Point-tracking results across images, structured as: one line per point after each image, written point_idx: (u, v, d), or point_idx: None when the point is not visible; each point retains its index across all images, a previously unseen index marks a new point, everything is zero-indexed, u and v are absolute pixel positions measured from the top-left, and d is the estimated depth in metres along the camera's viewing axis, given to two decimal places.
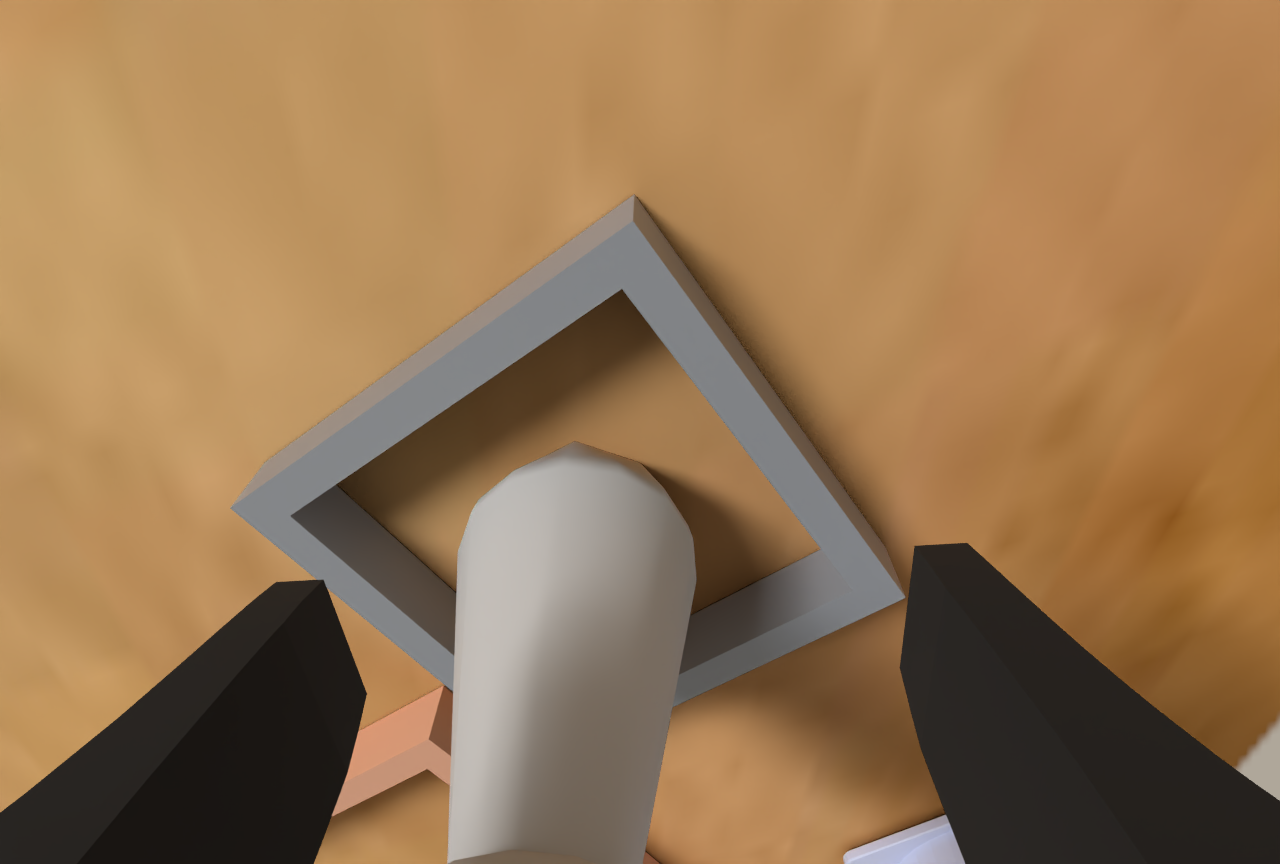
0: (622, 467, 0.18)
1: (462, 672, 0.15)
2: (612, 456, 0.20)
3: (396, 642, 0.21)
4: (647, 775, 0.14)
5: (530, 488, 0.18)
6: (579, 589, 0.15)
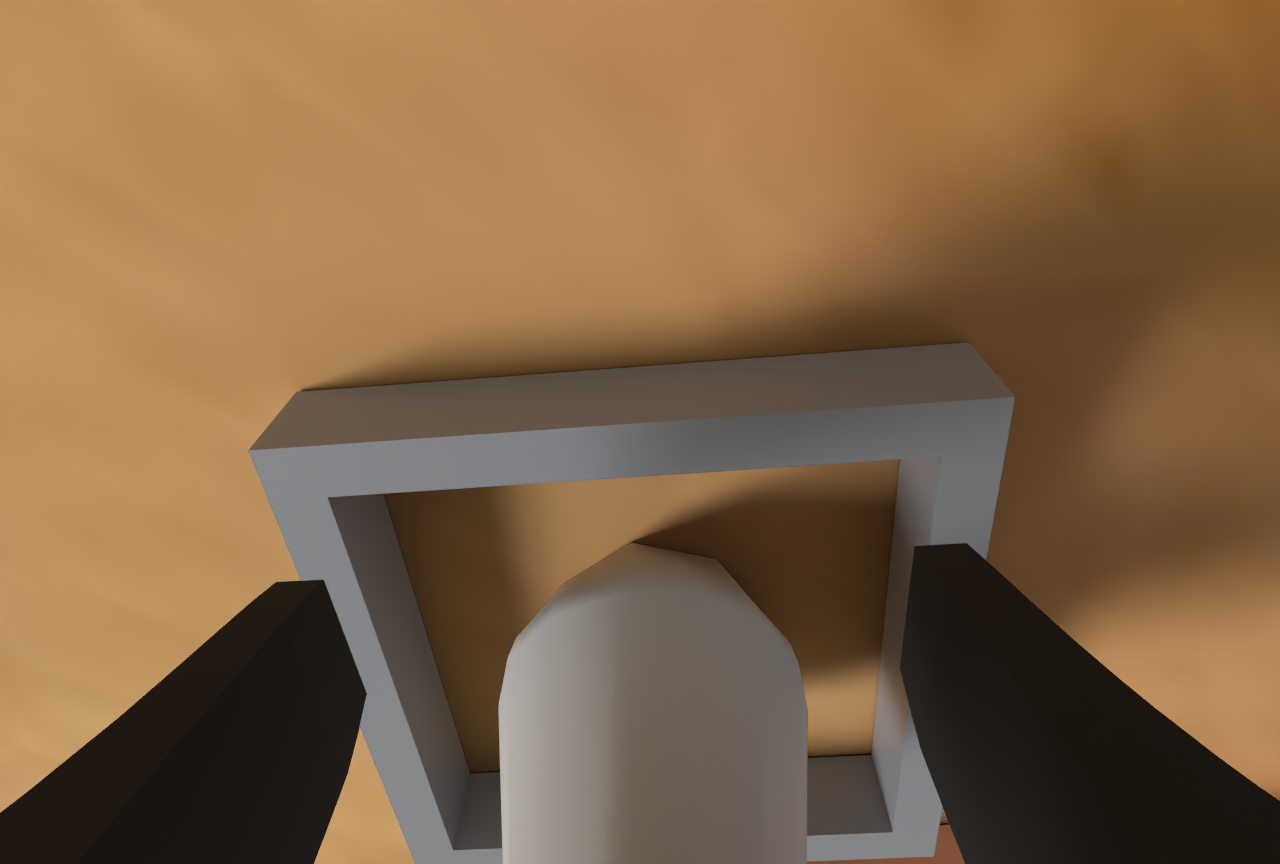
0: (560, 600, 0.14)
1: None
2: (586, 573, 0.16)
3: None
4: None
5: (502, 705, 0.14)
6: (535, 821, 0.11)
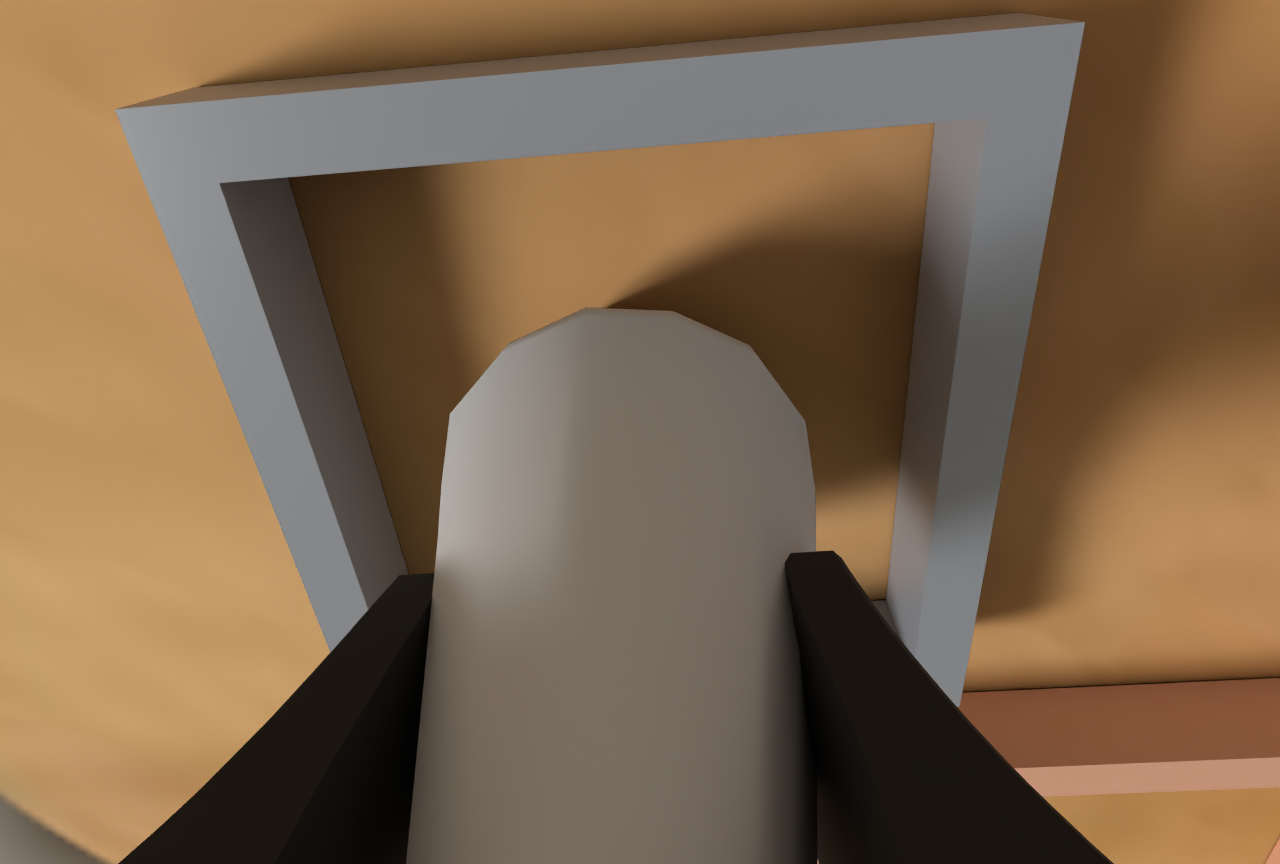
0: (514, 341, 0.12)
1: None
2: None
3: None
4: (688, 744, 0.06)
5: (443, 472, 0.12)
6: (467, 546, 0.09)
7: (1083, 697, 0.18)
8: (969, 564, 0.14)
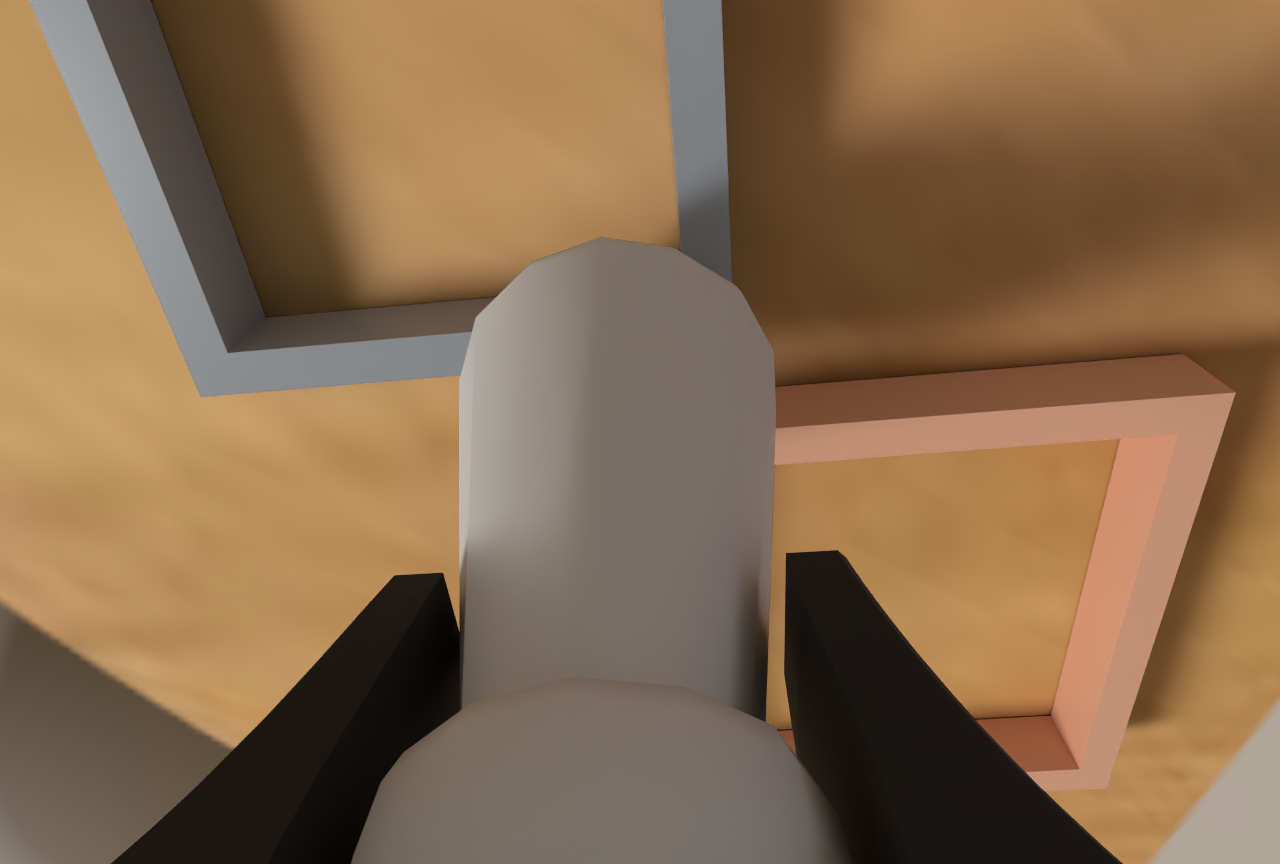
0: (536, 260, 0.14)
1: None
2: None
3: (446, 375, 0.17)
4: (685, 532, 0.09)
5: (466, 367, 0.14)
6: (502, 405, 0.11)
7: (876, 384, 0.19)
8: (713, 182, 0.15)
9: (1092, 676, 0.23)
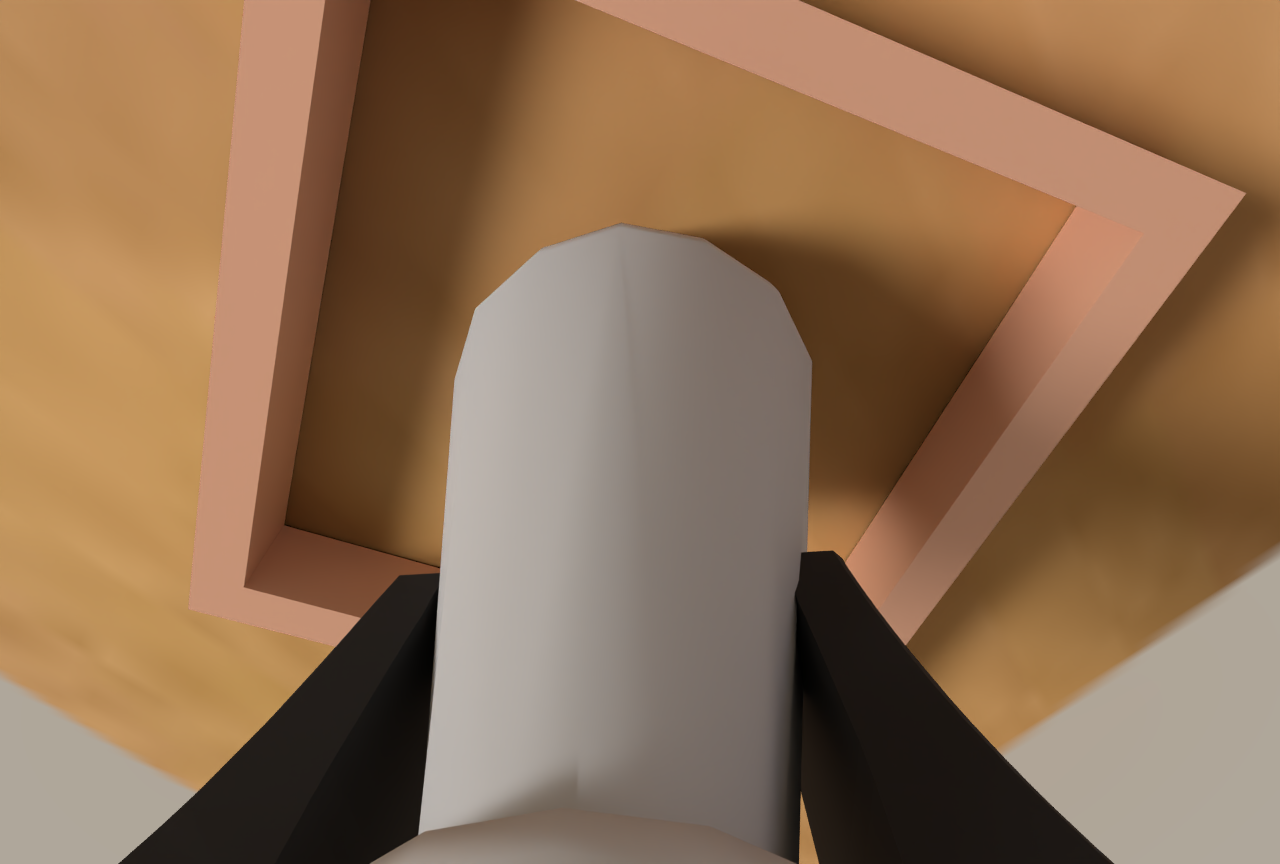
0: (547, 247, 0.12)
1: None
2: None
3: None
4: (710, 589, 0.07)
5: (461, 365, 0.12)
6: (498, 416, 0.09)
7: None
8: None
9: None
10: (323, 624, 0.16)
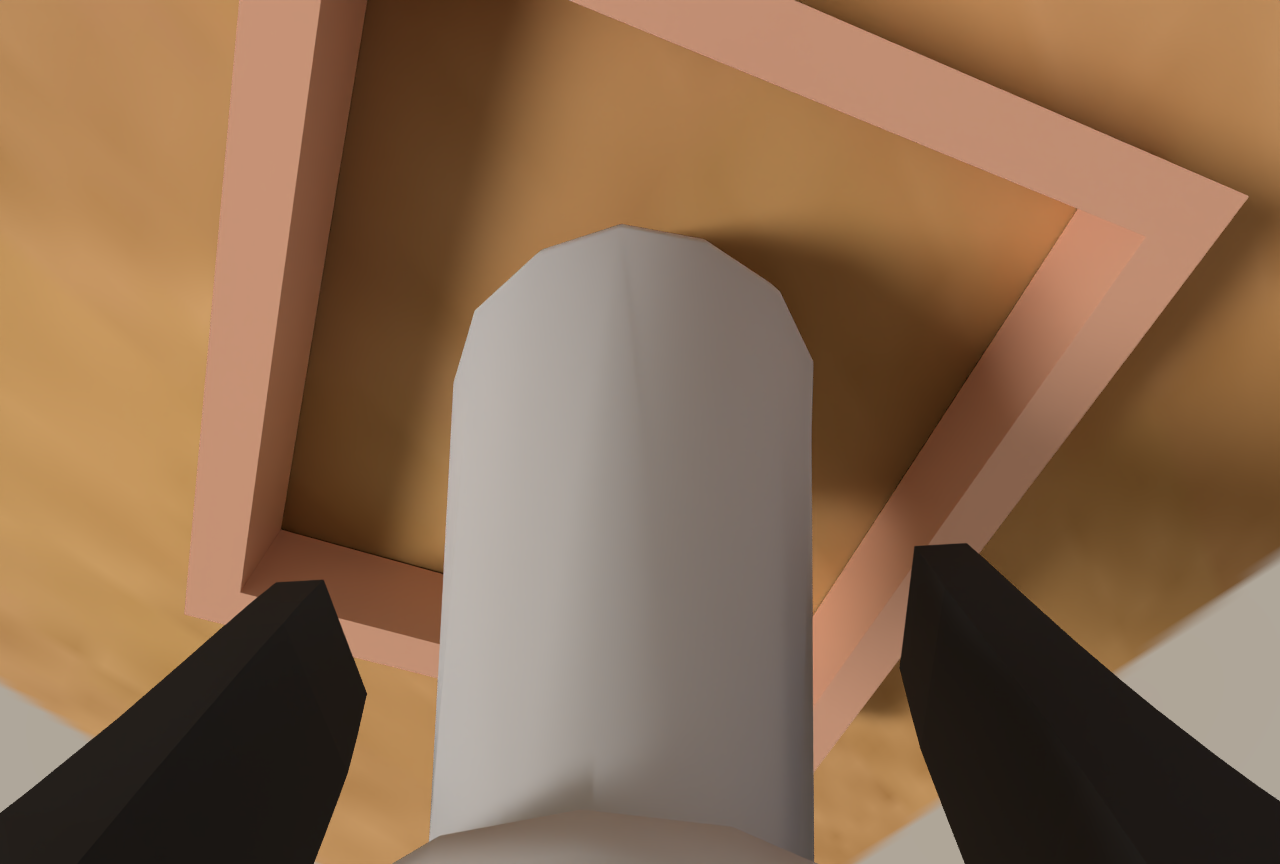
0: (546, 248, 0.12)
1: None
2: None
3: None
4: (723, 589, 0.07)
5: (461, 367, 0.12)
6: (500, 417, 0.09)
7: None
8: None
9: (861, 611, 0.16)
10: None
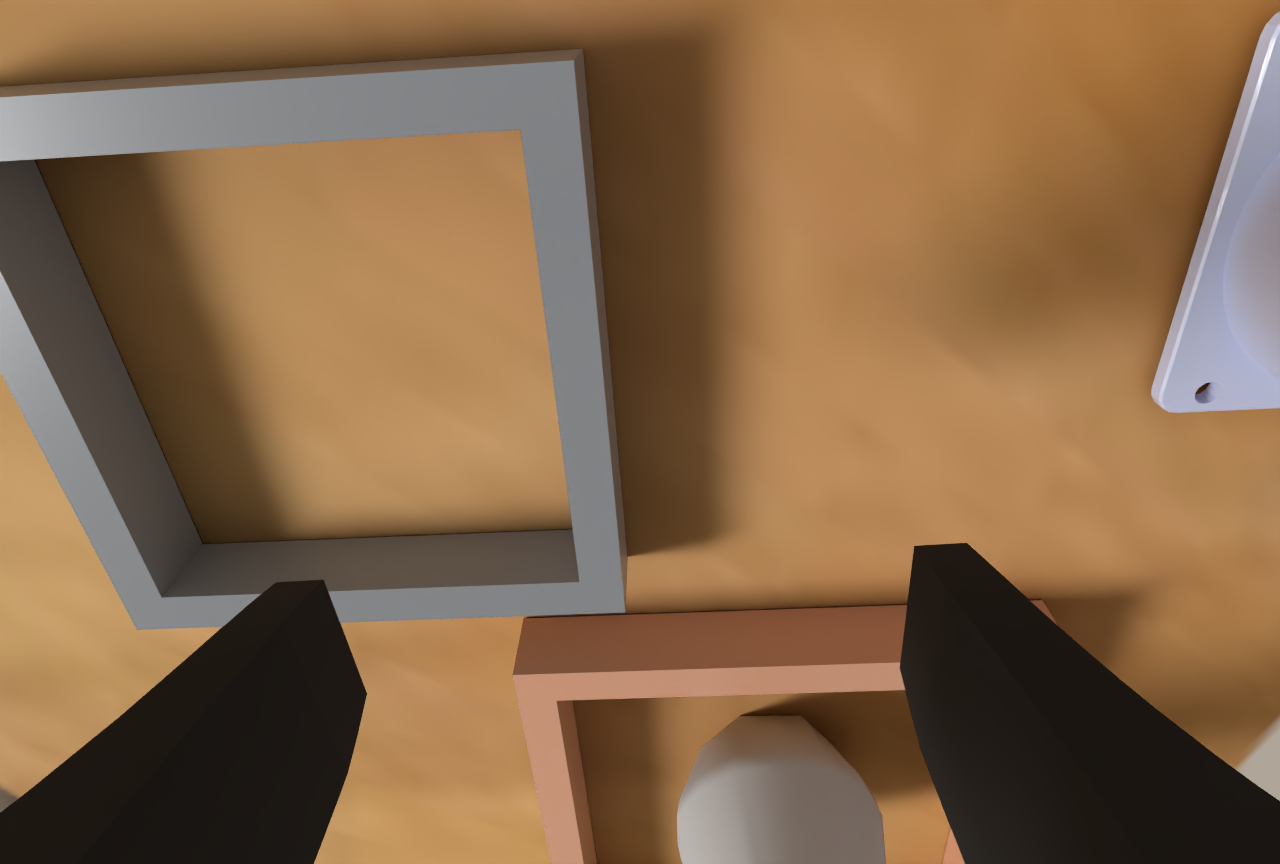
0: (701, 776, 0.22)
1: None
2: (715, 744, 0.23)
3: (362, 619, 0.19)
4: None
5: (680, 847, 0.22)
6: None
7: (764, 617, 0.21)
8: (600, 487, 0.17)
9: None
10: None
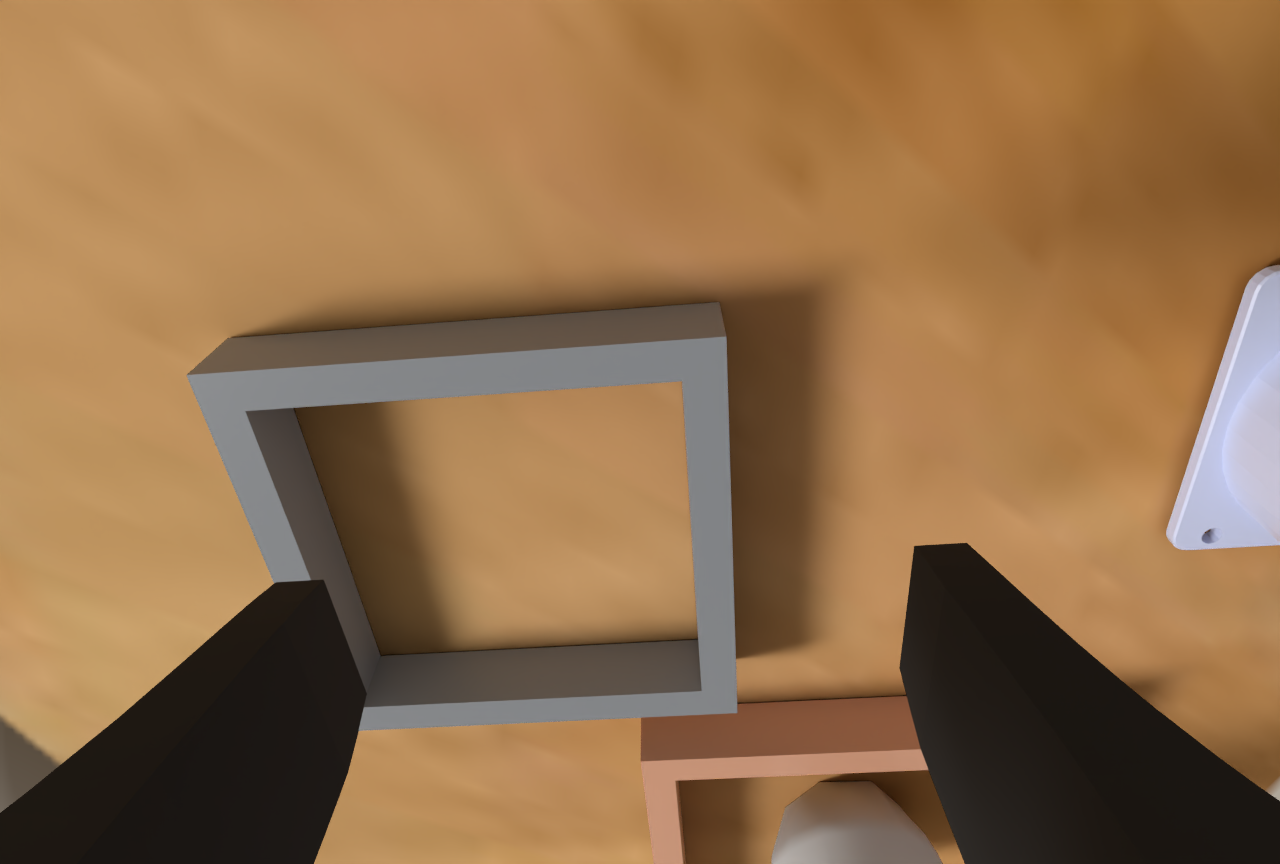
0: (792, 837, 0.26)
1: None
2: (799, 807, 0.28)
3: (521, 721, 0.23)
4: None
5: None
6: None
7: (844, 706, 0.25)
8: (723, 622, 0.21)
9: None
10: None
